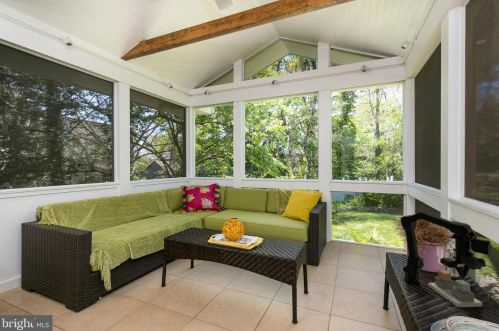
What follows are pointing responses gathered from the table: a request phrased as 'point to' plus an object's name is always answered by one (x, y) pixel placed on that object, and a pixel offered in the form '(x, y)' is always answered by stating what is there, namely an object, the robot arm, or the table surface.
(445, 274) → the terracotta plunger
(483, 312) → the table surface
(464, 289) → the plunger
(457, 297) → the console
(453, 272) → the beer glass
